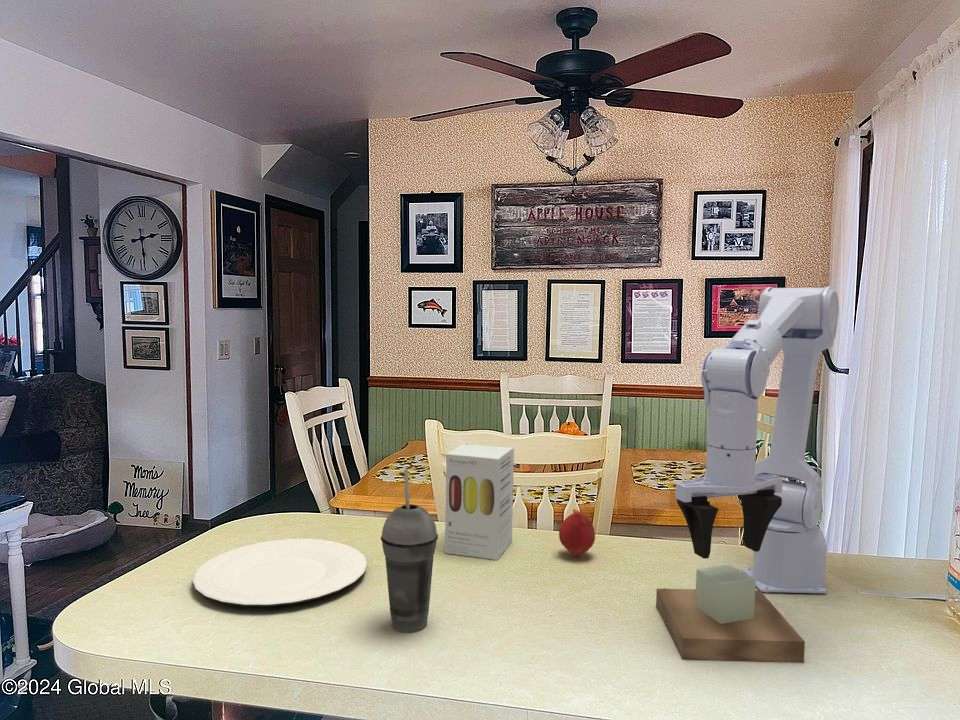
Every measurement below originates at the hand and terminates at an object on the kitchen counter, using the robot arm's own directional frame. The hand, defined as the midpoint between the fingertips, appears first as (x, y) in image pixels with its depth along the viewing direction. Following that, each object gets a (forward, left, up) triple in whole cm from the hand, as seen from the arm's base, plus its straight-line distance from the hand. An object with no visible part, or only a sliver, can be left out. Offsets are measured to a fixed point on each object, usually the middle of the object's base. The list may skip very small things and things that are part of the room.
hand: (727, 552), depth 87 cm
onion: (+16, -25, -11) cm, 31 cm away
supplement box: (+32, -28, -11) cm, 44 cm away
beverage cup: (+40, 0, -11) cm, 41 cm away
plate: (+61, -14, -11) cm, 64 cm away
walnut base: (0, 0, -10) cm, 10 cm away
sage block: (0, 0, -8) cm, 8 cm away
